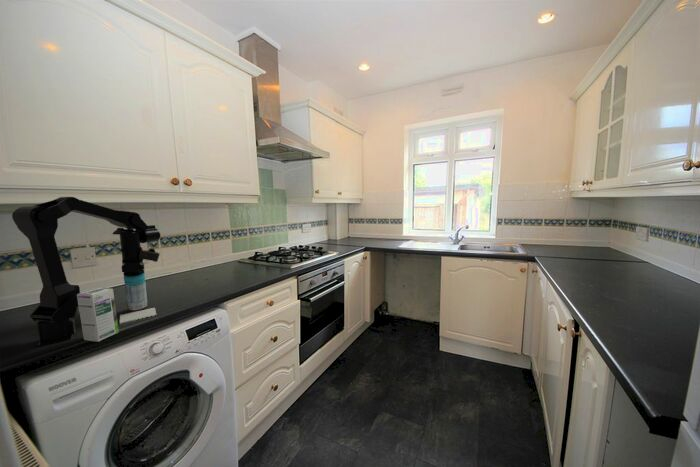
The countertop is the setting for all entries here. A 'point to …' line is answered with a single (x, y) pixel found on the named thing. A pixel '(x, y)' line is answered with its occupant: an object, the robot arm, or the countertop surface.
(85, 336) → the syrup box
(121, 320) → the mat
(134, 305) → the teal labeled canister
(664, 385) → the countertop surface
